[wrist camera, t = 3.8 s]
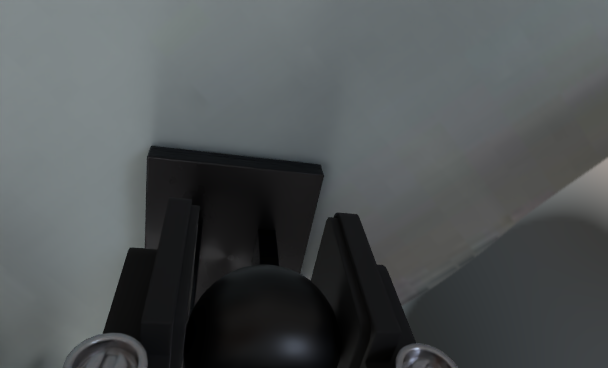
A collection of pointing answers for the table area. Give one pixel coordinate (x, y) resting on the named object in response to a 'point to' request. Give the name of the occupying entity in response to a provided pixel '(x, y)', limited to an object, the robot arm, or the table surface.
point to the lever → (262, 322)
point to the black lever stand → (234, 209)
